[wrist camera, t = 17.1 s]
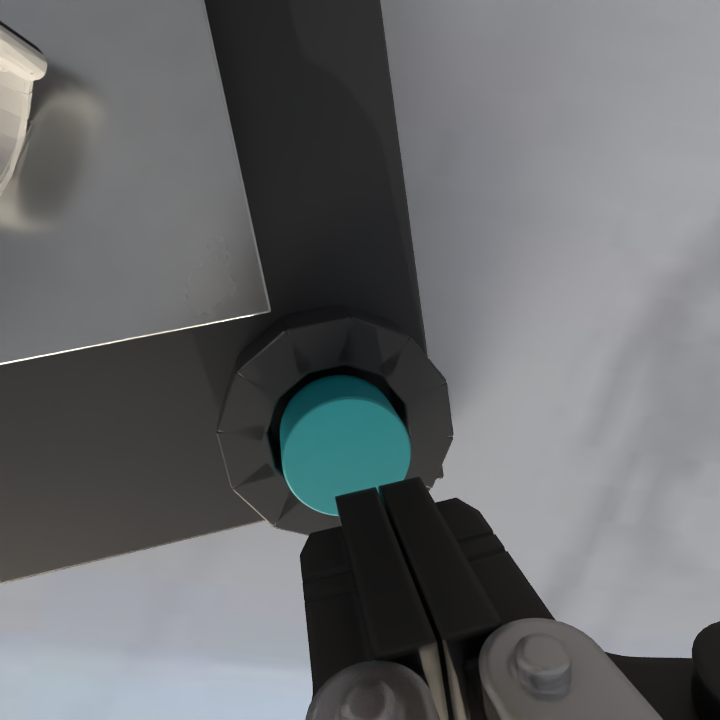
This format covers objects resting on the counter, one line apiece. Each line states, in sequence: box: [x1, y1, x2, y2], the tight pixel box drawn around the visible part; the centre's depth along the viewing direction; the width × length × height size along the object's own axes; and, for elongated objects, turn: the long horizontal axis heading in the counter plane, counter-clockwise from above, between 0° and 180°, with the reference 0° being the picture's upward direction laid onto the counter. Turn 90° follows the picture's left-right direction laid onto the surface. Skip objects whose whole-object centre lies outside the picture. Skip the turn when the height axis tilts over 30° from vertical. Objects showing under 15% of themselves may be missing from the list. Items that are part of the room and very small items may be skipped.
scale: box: [0, 0, 453, 583], centre depth 14 cm, size 16×13×4 cm
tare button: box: [280, 375, 411, 516], centre depth 13 cm, size 3×3×2 cm
